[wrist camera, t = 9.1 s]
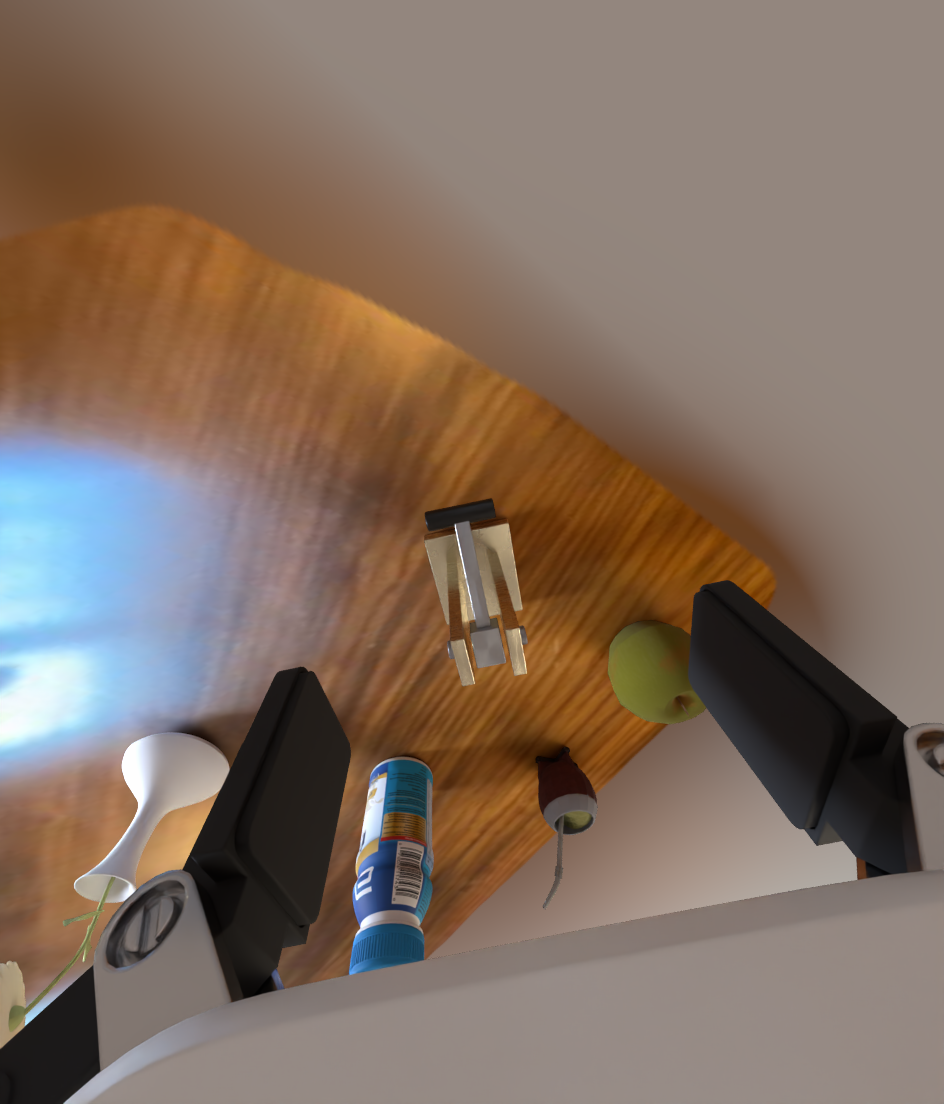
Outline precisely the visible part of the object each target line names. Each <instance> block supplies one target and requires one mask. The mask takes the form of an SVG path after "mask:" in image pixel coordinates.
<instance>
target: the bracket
mask: <svg viewBox="0 0 944 1104" xmlns="http://www.w3.org/2000/svg"><path fill="white" fill-rule="evenodd" d="M470 527H471V531H472V536H473V541H474V546H475V551H476V555H477V560H478V565H479V570H480V575H481V579H482V584H483V589H484V594H485V599H486V603H487V608H488V613H489V616H494V615H499V614H500V617H501V621H502V626H503V630H504V634H505V638H506V643H507V647H508V651H509V655H510V660H511V664H512V668H513V672H514V676H516V675H521V674H526V673H527V669H526V663H525V657H524V651H523V646H522V645H524V644H527V636H526V632H525V628H524V626H519V625H518V621H517V618H516V614H515V611H518V610H522V609H523V608H522V602H521V596H520V590H519V584H518V578H517V571H516V565H515V559H514V553H513V547H512V541H511V535H510V528H509V523H508V520H507V519H501V520H496V521H491V522H487V523H482V524H477V525H472V526H470ZM424 543H425V546H426V550H427V553H428V557H429V561H430V564H431V568H432V572H433V575H434V579H435V583H436V586H437V590H438V593H439V597H440V601H441V604H442V608H443V612H444V615H445V619H446V623H447V625H450V641H448V642H447V646H448V652H449V656H450V659H455V661H456V665H457V668H458V672H459V675H460V679H461V683H462V686H466V685H471V684H475V677H474V668H473V659H472V651H471V642H470V634H469V625H468V621H469V620H474V619H475V618H474V613H473V609H472V604H471V599H470V595H469V590H468V586H467V581H466V576H465V572H464V567H463V562H462V558H461V553H460V548H459V544H458V539H457V534H456V530H455V529H453V530H448V531H443V532H439V533H434V534H429V535H425V536H424Z"/></svg>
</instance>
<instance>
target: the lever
mask: <svg viewBox="0 0 944 1104" xmlns="http://www.w3.org/2000/svg"><path fill="white" fill-rule="evenodd" d="M495 517H496V515H495V509H494V504H493V500H492V499H491V498H490V499H486V500H481V501H476V502H471V503H466V504H462V505H457V506H452V507H447V508H443V509H438V510H433V511H428V512H425V520H426V524H427V528H428V530H429V531H434V530H439V529H443V528H448V527H453V526H455V530H456V534H457V539H458V544H459V548H460V553H461V558H462V562H463V567H464V572H465V576H466V581H467V586H468V590H469V595H470V599H471V604H472V609H473V613H474V618H475V622H473V623H470V637H471V642H472V646H473V651H474V655H475V660H476V665H477V668H482V667H487V666H492V665H497V664H502V663H506V659H505V654H504V650H503V645H502V640H501V635H500V630H499V626H498V621H497V618H493V619H490V618H489V613H488V608H487V603H486V599H485V594H484V589H483V584H482V579H481V575H480V570H479V565H478V560H477V555H476V551H475V546H474V541H473V536H472V531H471V527H470V523H472V522H477V521H482V520H487V519H491V518H495Z"/></svg>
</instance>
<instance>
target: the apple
mask: <svg viewBox="0 0 944 1104" xmlns="http://www.w3.org/2000/svg"><path fill="white" fill-rule="evenodd" d="M690 641H691V636H690V635H689V634H688V633H686V632H685V631H684V630H683V629H682V628H679V627H675V626H672V625H669V624H665V623H662V622H658V621H653V620H646V621H638V622H635V623H633V624H631V625H629V626H626V627H625V628H624V629H623V630H621V631H620V632H619V633H618V634H617V635H616V636H615V638H614V640H613V641H612V643H611V645H610V650H609V663H608V675H609V678H610V681H611V683H612V686H613V689H614V691H615V694H616V696H617V698H618V700H619V702H620V704H621V705H622V706H624V707H625V708H627V709H628V710H629V711H631V712H632V713H634V714H635V715H636V716H638V717H640V718H642V719H644V720H646V721H650V722H658V723H665V724H675V723H680V722H683V721H686V720H689V719H692V718H694V717H696V716H697V715H699V714H700V713H702V712H703V711H704V710H705V709H706V706H705V705H704V704H703V702H702V701H701V699H700V698H699V697H698V695H697V694H696V693H695V691H694V690H693V688H692V686H691V684H690V682H689V678H688V668H689V654H690Z"/></svg>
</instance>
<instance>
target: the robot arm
mask: <svg viewBox="0 0 944 1104" xmlns="http://www.w3.org/2000/svg"><path fill="white" fill-rule="evenodd" d="M688 678H689V682H690V684H691V686H692V688H693V690H694V691H695V693H696V694H697V695H698V697H699V698H700V699H701V701H702V702H703V704H704V705H705V706H706V708H707V709H708V710H709V712H710V713H711V714H712V716H713V717H714V718H715V720H716V721H717V723H718V724H719V725H720V727H721V728H722V729H723V731H724V732H725V733H726V735H727V736H728V737H729V739H730V740H731V742H732V743H733V744H734V746H735V747H736V748H737V750H738V751H739V753H740V754H741V755H742V756H743V758H744V759H745V761H746V762H747V763H748V765H749V766H750V767H751V769H752V770H753V772H754V773H755V774H756V776H757V777H758V778H759V780H760V781H761V782H762V784H763V785H764V787H765V788H766V789H767V790H768V792H769V793H770V795H771V796H772V797H773V799H774V800H775V802H776V803H777V804H778V806H779V807H780V808H781V810H782V811H783V812H784V814H785V815H786V816H787V818H788V819H789V820H790V822H791V823H792V824H793V825H794V826H795V827H797V828H798V829H804V830H805V831H806V832H807V833H808V835H809V836H810V838H811V839H812V840H813V841H814V843H815V844H816V845H817V846H818V845H823V844H829V843H833V842H839V841H843V842H844V843H845V844H846V845H847V846H848V848H849V849H850V850H851V851H852V853H853V854H854V855H855V856H856V858H857V878H858V880H855V881H848V882H842V883H836V884H830V885H824V886H818V887H812V888H805V889H800V890H794V891H788V892H783V893H777V894H772V895H767V896H761V897H756V898H750V899H745V900H739V901H734V902H729V903H723V904H718V905H712V906H707V907H702V908H696V909H690V910H685V911H680V912H674V913H669V914H664V915H658V916H653V917H648V918H642V919H637V920H631V921H626V922H621V923H616V924H610V925H606V926H600V927H595V928H589V929H584V930H579V931H573V932H568V933H563V934H557V935H553V936H547V937H542V938H537V939H531V940H526V941H521V942H516V943H510V944H505V945H500V946H495V947H490V948H484V949H479V950H474V951H469V952H464V953H459V954H454V955H448V956H444V957H438V958H433V959H428V960H423V961H418V962H413V963H407V964H402V965H397V966H392V967H387V968H382V969H377V970H372V971H366V972H361V973H356V974H351V975H347V976H342V977H338V978H333V979H328V980H324V981H319V982H315V983H310V984H305V985H301V986H296V987H292V988H287V989H284V986H283V984H282V981H281V979H280V976H279V974H278V971H277V969H276V968H277V967H278V963H279V959H280V955H281V951H282V948H285V947H291V946H296V945H301V944H306V940H307V936H308V931H309V926H310V924H312V923H314V922H315V921H316V920H317V917H318V915H319V911H320V906H321V901H322V896H323V892H324V887H325V882H326V877H327V872H328V867H329V862H330V857H331V852H332V847H333V842H334V837H335V832H336V827H337V822H338V817H339V812H340V807H341V802H342V797H343V792H344V788H345V783H346V778H347V773H348V768H349V763H350V757H351V748H350V743H349V741H348V739H347V737H346V735H345V733H344V731H343V729H342V727H341V725H340V723H339V721H338V719H337V717H336V715H335V713H334V711H333V709H332V707H331V705H330V703H329V701H328V699H327V697H326V695H325V693H324V691H323V689H322V687H321V685H320V683H319V681H318V679H317V677H316V675H315V673H314V672H313V671H309V672H308V671H307V669H306V668H304V667H298V668H293V669H288V670H283V671H279V672H278V673H277V674H276V675H275V677H274V679H273V681H272V683H271V686H270V688H269V690H268V692H267V694H266V696H265V698H264V700H263V702H262V705H261V707H260V709H259V711H258V713H257V715H256V717H255V719H254V721H253V724H252V726H251V728H250V730H249V732H248V734H247V736H246V738H245V740H244V742H243V744H242V746H241V748H240V750H239V752H238V754H237V756H236V758H235V760H234V762H233V765H232V767H231V769H230V771H229V773H228V775H227V777H226V779H225V781H224V783H223V786H222V788H221V790H220V792H219V794H218V796H217V798H216V800H215V802H214V804H213V807H212V809H211V811H210V813H209V815H208V817H207V819H206V821H205V823H204V825H203V828H202V830H201V832H200V834H199V836H198V838H197V840H196V842H195V844H194V847H193V849H192V851H191V853H190V855H189V857H188V859H187V861H186V863H185V865H184V868H183V870H171V871H167V872H165V873H162V874H160V875H158V876H155V877H154V878H152V879H151V880H149V881H148V882H146V883H145V884H143V885H142V886H140V887H139V888H138V889H137V890H136V891H135V892H134V893H133V894H132V895H131V896H129V897H128V898H127V899H126V900H125V901H124V903H123V904H122V905H121V906H120V907H119V909H118V910H117V911H116V912H115V913H114V915H113V916H112V918H111V919H110V921H109V922H108V924H107V926H106V927H105V929H104V931H103V932H102V934H101V937H100V939H99V942H98V944H97V947H96V949H95V956H94V964H93V966H92V967H90V968H89V969H88V970H87V971H86V972H85V973H84V974H83V975H82V976H80V977H79V978H78V979H77V980H76V981H75V982H74V983H73V984H72V985H70V986H69V987H68V988H67V989H66V990H65V991H64V992H63V993H62V994H61V995H59V996H58V997H57V998H56V999H55V1000H54V1001H53V1002H52V1003H51V1004H49V1005H48V1006H47V1007H46V1008H45V1009H44V1010H43V1011H42V1012H41V1013H39V1014H38V1015H37V1016H36V1017H35V1018H34V1019H33V1020H32V1021H31V1022H29V1023H28V1024H27V1025H26V1026H25V1027H24V1028H23V1029H22V1030H21V1031H19V1032H18V1033H17V1034H16V1035H15V1036H14V1037H13V1038H12V1039H11V1040H9V1041H8V1042H7V1043H6V1044H5V1045H4V1046H3V1047H2V1048H1V1049H0V1104H944V724H942V723H922V724H918V725H915V726H911V728H908V727H907V726H906V725H904V724H903V723H902V722H901V721H900V720H898V719H897V716H895V715H894V714H893V713H892V712H891V711H889V710H888V709H887V708H886V707H884V706H883V705H882V704H881V703H880V702H878V701H877V700H876V699H875V698H873V697H872V696H871V695H870V694H869V693H867V692H866V691H865V690H864V689H862V688H861V687H860V686H859V685H858V684H856V683H855V682H854V681H853V680H851V679H850V678H849V677H848V676H847V675H845V674H844V673H843V672H842V671H841V670H839V669H838V668H837V667H836V666H834V665H833V664H832V663H831V662H829V661H828V660H827V659H826V658H825V657H823V656H822V655H821V654H820V653H819V652H817V651H816V650H815V649H814V648H812V647H811V646H810V645H809V644H808V643H806V642H805V641H804V640H803V639H801V638H800V637H799V636H798V635H796V634H795V633H794V632H793V631H792V630H791V629H789V628H788V627H787V626H786V625H784V624H783V623H782V622H781V621H780V620H778V619H777V618H776V617H775V616H773V615H772V614H771V613H770V612H769V611H767V610H766V609H765V608H764V607H762V606H761V605H760V604H759V603H758V602H756V601H755V600H754V599H753V598H751V597H750V596H749V595H748V594H747V593H745V592H744V591H743V590H742V589H740V588H739V587H738V586H737V585H736V584H734V583H733V582H731V581H728V580H726V581H721V582H716V583H711V584H706V585H703V586H702V587H701V588H700V592H698V593H696V594H695V595H694V601H693V615H692V628H691V641H690V654H689V668H688Z"/></svg>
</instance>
